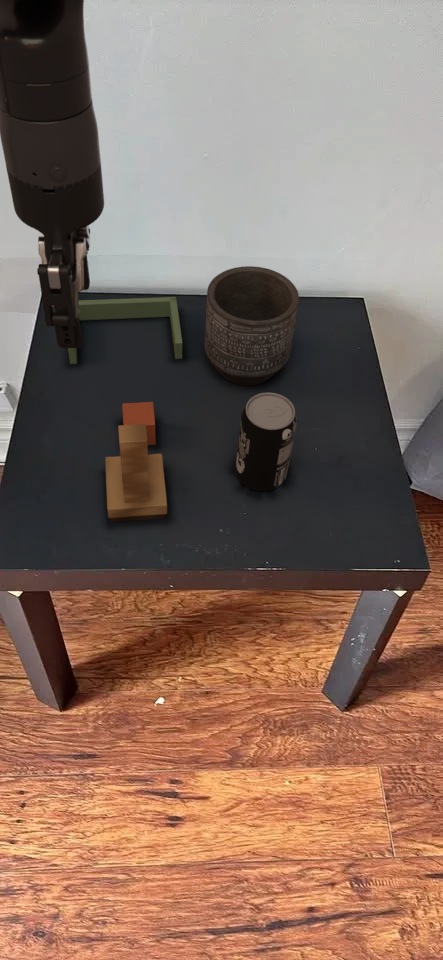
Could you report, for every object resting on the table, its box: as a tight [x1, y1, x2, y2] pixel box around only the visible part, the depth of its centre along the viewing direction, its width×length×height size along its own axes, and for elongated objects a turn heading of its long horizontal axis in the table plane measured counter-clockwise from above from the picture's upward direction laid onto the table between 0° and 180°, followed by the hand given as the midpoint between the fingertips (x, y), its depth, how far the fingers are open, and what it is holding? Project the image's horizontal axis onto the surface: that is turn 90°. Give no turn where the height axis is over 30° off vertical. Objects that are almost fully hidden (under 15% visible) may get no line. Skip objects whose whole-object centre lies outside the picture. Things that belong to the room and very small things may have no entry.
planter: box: [204, 265, 300, 386], centre depth 103 cm, size 12×12×13 cm
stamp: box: [104, 424, 168, 523], centre depth 87 cm, size 7×8×14 cm
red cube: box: [121, 401, 157, 446], centre depth 97 cm, size 4×4×4 cm
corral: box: [67, 296, 183, 365], centre depth 109 cm, size 16×10×3 cm, turn 97°
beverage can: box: [235, 392, 298, 492], centre depth 91 cm, size 7×7×12 cm
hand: (74, 315), depth 73 cm, fingers open, 8 cm apart
